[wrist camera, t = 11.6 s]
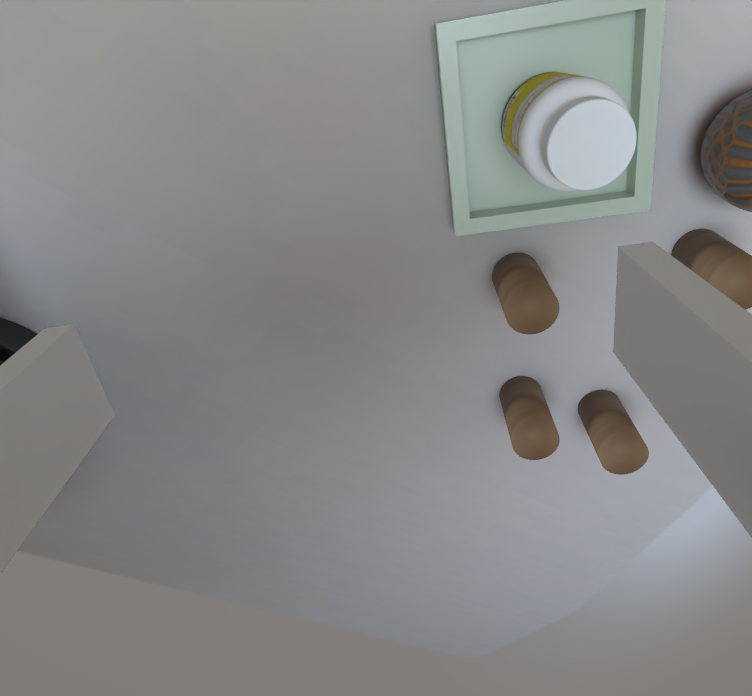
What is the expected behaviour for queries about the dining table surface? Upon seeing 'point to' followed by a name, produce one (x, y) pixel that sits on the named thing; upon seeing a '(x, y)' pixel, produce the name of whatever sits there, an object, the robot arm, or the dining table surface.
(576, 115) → the supplement bottle
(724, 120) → the vase
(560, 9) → the tray
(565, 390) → the dining table surface
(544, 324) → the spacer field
